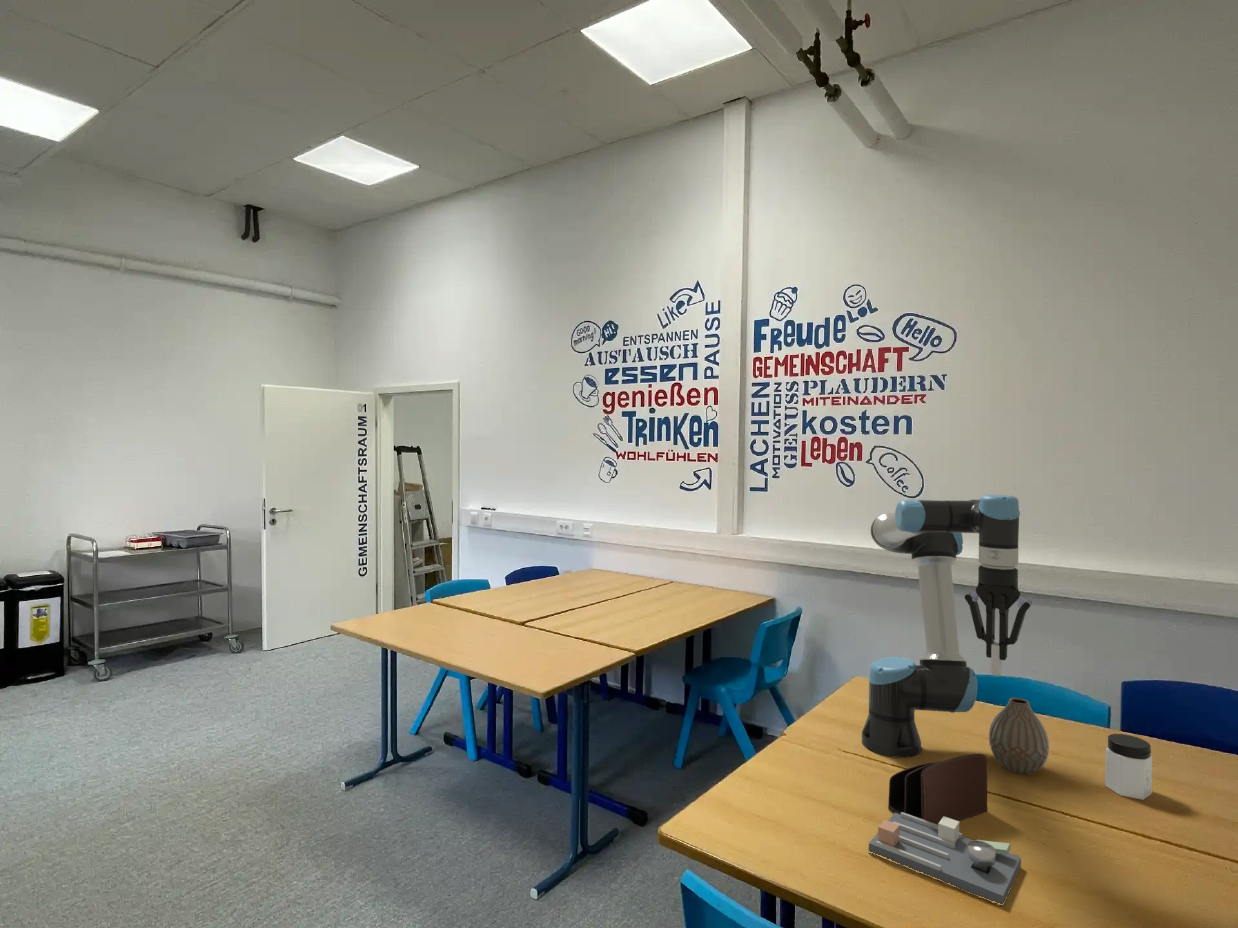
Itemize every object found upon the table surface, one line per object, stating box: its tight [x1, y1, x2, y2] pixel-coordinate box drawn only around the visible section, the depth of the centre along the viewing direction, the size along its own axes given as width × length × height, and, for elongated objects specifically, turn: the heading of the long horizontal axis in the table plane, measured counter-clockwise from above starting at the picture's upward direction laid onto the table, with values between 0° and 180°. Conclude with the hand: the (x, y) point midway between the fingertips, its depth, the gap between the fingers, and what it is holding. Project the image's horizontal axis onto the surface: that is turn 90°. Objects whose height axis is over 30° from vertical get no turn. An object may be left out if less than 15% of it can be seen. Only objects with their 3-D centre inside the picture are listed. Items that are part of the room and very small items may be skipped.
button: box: [968, 839, 995, 874], centre depth 128 cm, size 5×5×5 cm
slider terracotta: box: [877, 819, 900, 847], centre depth 135 cm, size 3×4×3 cm
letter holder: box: [887, 753, 989, 825], centre depth 151 cm, size 10×20×14 cm, turn 114°
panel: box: [868, 812, 1022, 904], centre depth 133 cm, size 24×15×4 cm, turn 49°
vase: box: [988, 697, 1050, 776], centre depth 171 cm, size 13×13×18 cm
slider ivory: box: [938, 816, 960, 843], centre depth 136 cm, size 3×4×3 cm
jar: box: [1104, 733, 1153, 801], centre depth 160 cm, size 9×8×12 cm
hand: (996, 673), depth 147 cm, fingers closed
